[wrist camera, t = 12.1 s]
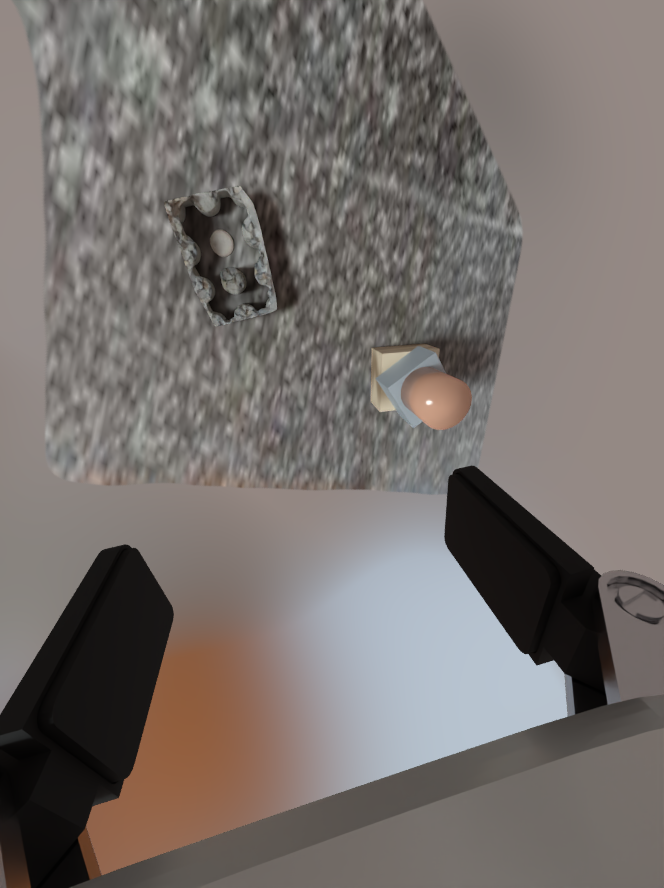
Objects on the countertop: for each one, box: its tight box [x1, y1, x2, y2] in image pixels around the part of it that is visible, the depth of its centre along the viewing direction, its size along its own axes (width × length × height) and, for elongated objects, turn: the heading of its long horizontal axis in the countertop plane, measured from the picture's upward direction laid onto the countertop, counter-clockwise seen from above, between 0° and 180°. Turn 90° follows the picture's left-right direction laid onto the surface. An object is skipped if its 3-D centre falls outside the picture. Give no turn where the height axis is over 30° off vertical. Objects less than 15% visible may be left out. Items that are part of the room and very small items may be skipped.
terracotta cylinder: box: [401, 367, 472, 430], centre depth 31 cm, size 5×5×5 cm
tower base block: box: [371, 344, 440, 412], centre depth 38 cm, size 7×7×4 cm
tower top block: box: [375, 346, 446, 428], centre depth 35 cm, size 6×6×4 cm
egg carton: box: [164, 186, 277, 326], centre depth 30 cm, size 11×8×4 cm
